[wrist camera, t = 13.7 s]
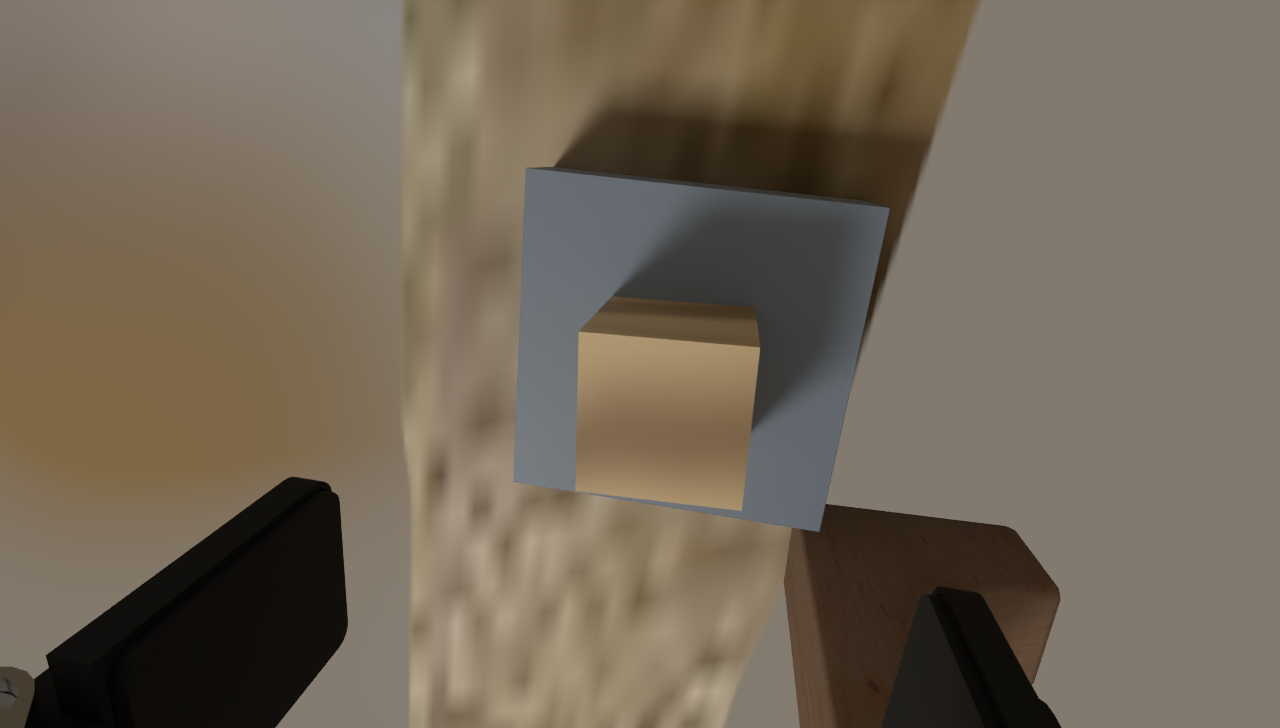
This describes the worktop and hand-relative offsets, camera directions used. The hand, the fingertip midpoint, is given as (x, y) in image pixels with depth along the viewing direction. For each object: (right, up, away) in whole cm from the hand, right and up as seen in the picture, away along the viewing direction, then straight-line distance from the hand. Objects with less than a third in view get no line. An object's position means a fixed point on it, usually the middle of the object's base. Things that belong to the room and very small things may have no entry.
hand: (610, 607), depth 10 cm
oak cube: (+2, +4, +13) cm, 13 cm away
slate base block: (+3, +5, +17) cm, 18 cm away
